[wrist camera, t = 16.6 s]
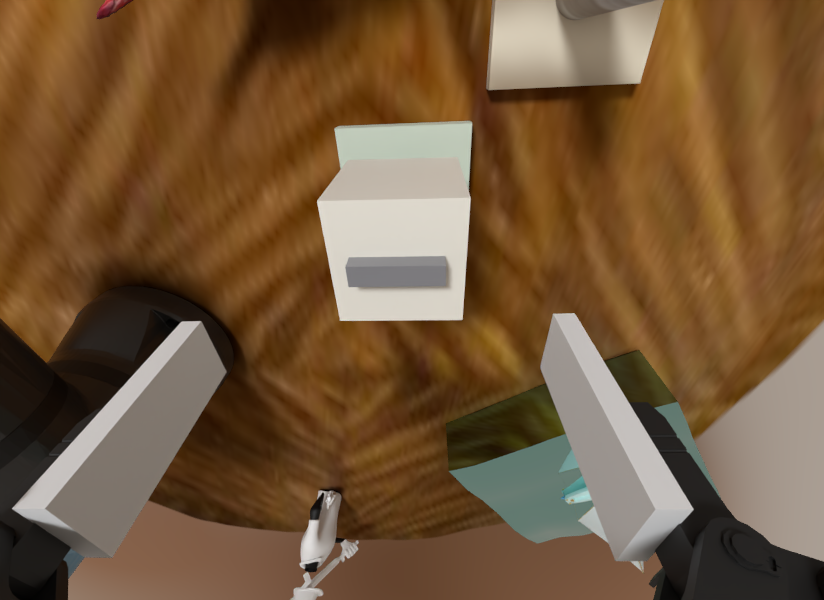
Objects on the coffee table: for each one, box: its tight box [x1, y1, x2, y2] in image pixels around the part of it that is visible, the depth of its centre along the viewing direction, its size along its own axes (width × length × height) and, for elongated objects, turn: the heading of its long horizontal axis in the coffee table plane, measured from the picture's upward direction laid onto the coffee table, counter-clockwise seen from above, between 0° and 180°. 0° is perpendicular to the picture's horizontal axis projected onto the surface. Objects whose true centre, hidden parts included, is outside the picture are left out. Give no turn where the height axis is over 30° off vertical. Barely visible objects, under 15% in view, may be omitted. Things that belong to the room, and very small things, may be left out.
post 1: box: [335, 121, 472, 191], centre depth 24 cm, size 10×10×12 cm
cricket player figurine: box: [290, 490, 359, 600], centre depth 53 cm, size 13×10×15 cm
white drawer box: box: [317, 157, 471, 321], centre depth 21 cm, size 7×7×9 cm
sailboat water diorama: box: [446, 350, 720, 573], centre depth 42 cm, size 25×25×16 cm
